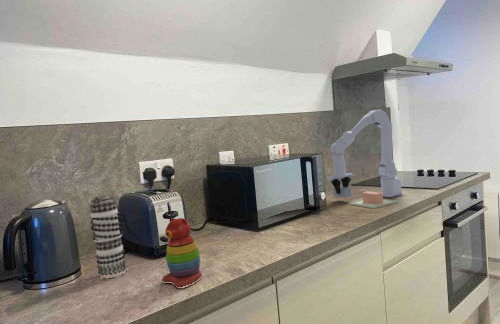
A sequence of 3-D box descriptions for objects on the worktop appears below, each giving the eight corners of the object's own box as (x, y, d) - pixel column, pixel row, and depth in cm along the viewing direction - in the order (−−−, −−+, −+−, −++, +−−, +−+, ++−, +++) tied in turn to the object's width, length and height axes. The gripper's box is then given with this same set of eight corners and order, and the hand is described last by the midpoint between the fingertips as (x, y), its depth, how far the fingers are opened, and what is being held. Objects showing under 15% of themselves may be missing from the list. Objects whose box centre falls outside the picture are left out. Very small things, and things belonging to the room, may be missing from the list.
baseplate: (372, 198, 188) (372, 197, 188) (398, 202, 174) (397, 200, 173) (349, 204, 181) (349, 202, 181) (373, 208, 167) (373, 206, 167)
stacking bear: (159, 282, 107) (151, 221, 106) (188, 270, 114) (181, 213, 113) (180, 290, 99) (172, 224, 98) (210, 277, 106) (202, 215, 105)
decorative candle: (133, 271, 119) (122, 194, 117) (104, 282, 113) (92, 200, 111) (121, 266, 125) (110, 193, 124) (93, 276, 119) (81, 198, 117)
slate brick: (339, 194, 196) (338, 186, 195) (351, 196, 188) (350, 187, 187) (333, 196, 194) (332, 187, 194) (345, 197, 186) (344, 188, 186)
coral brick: (369, 200, 182) (368, 191, 182) (383, 202, 174) (382, 192, 174) (363, 201, 181) (362, 192, 180) (376, 204, 173) (376, 194, 172)
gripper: (345, 164, 196) (347, 189, 197) (322, 168, 190) (325, 194, 191) (354, 164, 190) (357, 191, 191) (331, 168, 184) (334, 196, 185)
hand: (342, 192), depth 191 cm, fingers closed on slate brick, 4 cm apart
